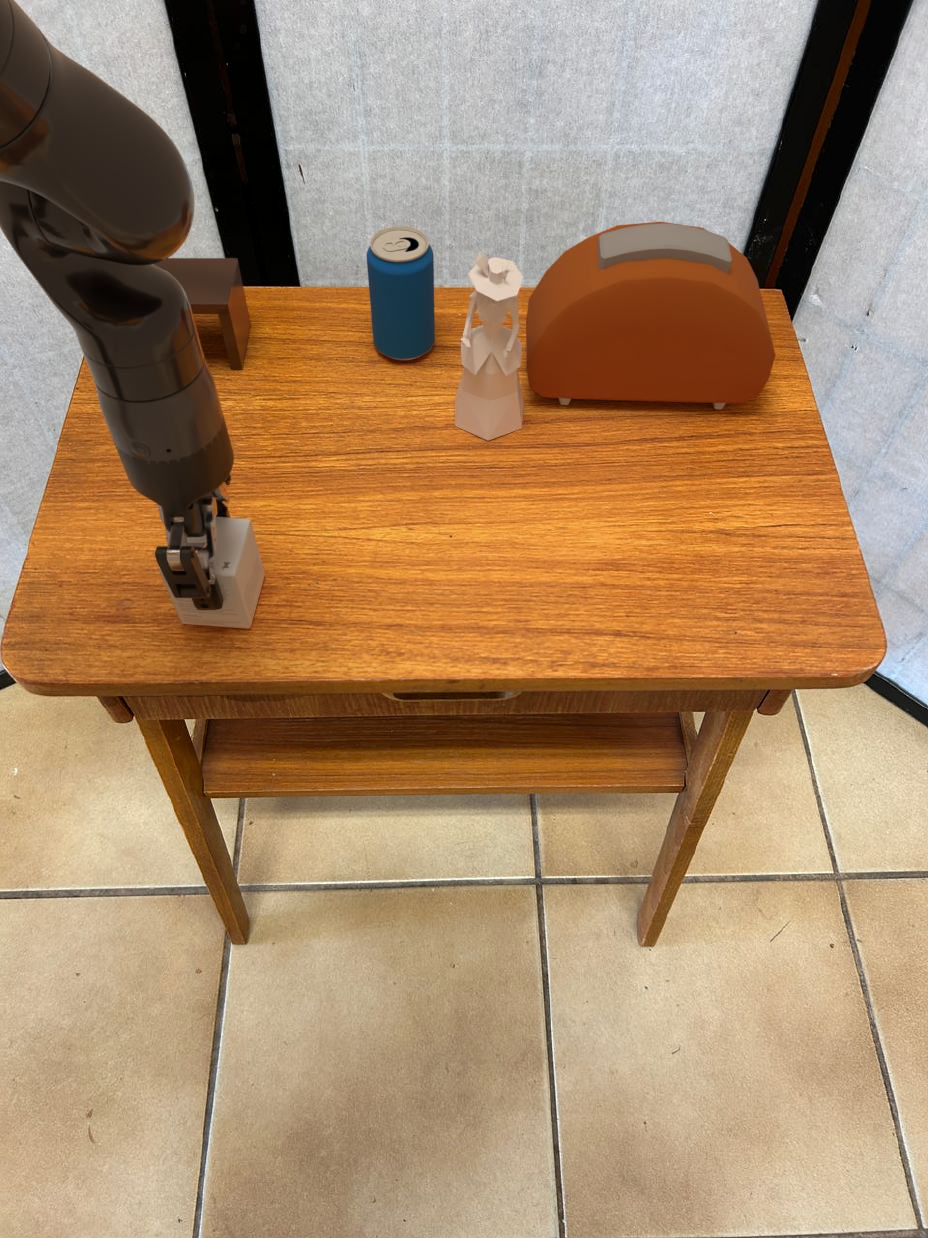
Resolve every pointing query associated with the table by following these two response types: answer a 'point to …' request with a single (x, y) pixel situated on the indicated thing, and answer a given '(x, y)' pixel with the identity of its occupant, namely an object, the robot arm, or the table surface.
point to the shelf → (216, 297)
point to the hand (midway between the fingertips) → (216, 571)
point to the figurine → (491, 353)
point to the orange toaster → (649, 320)
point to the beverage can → (401, 292)
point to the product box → (228, 577)
